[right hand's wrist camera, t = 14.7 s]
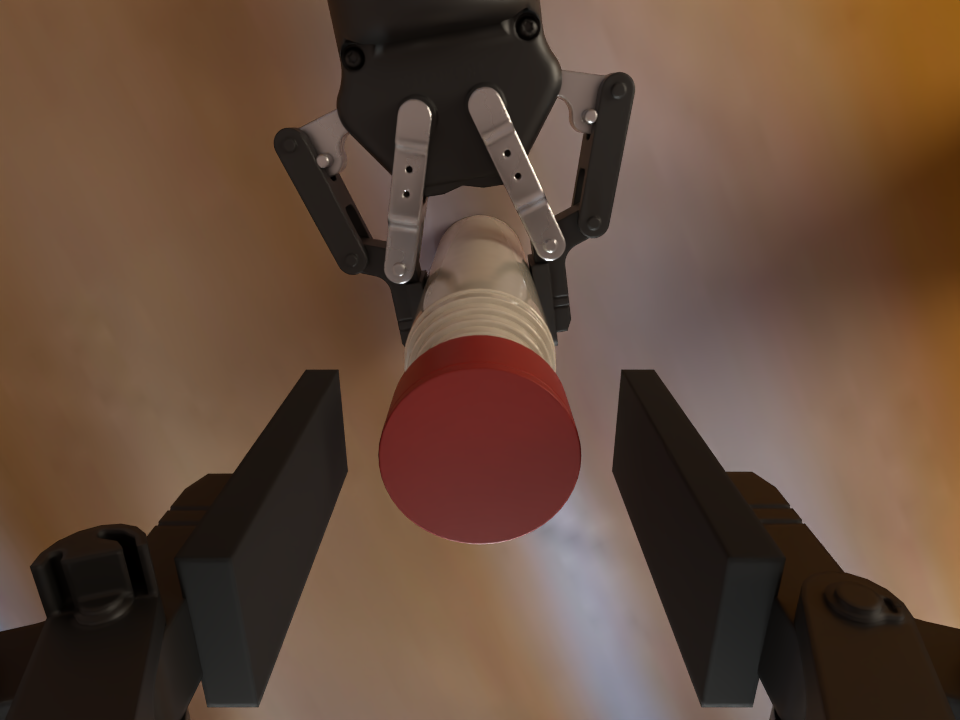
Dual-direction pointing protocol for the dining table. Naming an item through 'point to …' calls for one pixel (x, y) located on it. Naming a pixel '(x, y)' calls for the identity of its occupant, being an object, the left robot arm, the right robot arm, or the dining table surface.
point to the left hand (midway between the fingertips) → (489, 347)
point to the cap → (479, 441)
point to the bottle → (480, 292)
